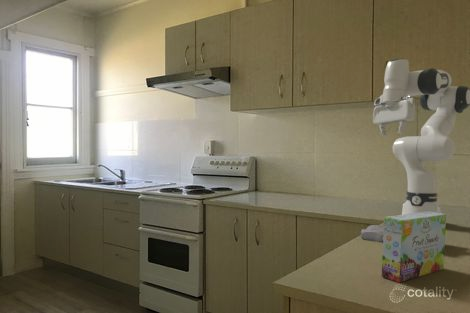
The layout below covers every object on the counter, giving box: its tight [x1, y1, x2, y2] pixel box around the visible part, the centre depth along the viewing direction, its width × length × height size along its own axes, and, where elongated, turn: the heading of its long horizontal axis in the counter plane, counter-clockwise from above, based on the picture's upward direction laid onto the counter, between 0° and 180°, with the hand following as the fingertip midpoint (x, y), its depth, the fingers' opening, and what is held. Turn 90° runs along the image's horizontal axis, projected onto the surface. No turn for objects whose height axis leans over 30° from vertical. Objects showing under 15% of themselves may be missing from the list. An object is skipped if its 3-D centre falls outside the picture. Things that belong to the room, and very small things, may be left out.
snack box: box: [381, 212, 447, 283], centre depth 97 cm, size 21×6×15 cm, turn 126°
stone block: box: [360, 224, 384, 243], centre depth 138 cm, size 12×5×10 cm
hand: (391, 134), depth 148 cm, fingers open, 8 cm apart
